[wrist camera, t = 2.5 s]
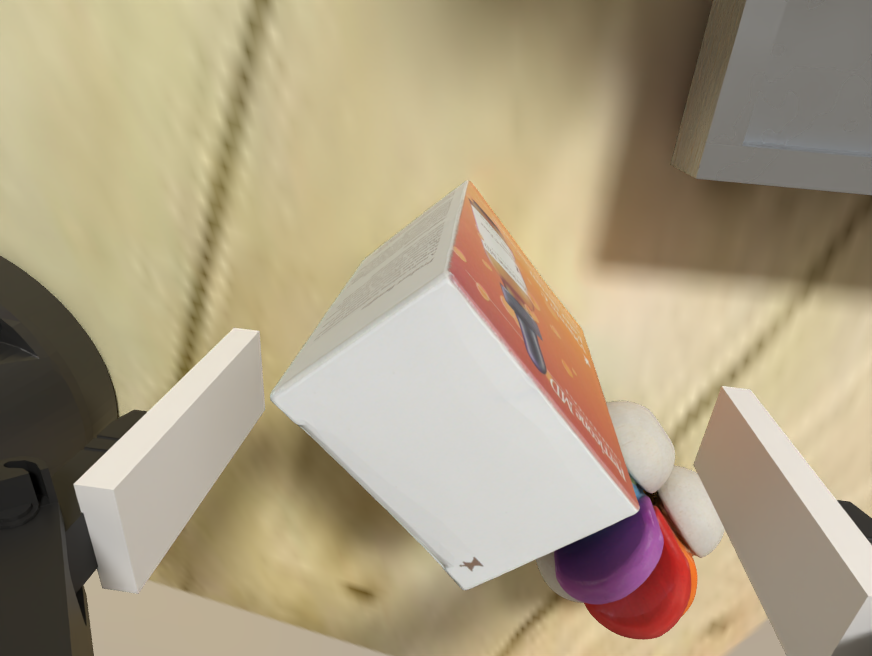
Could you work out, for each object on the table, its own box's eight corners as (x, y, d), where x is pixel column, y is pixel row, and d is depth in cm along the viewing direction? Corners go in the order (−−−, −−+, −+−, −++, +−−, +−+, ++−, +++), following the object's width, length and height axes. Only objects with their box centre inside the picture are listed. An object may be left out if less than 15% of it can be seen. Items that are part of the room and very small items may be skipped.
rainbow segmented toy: (572, 569, 29) (595, 716, 22) (460, 448, 26) (450, 576, 20) (724, 500, 26) (802, 646, 19) (617, 357, 23) (667, 471, 17)
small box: (584, 329, 23) (651, 519, 13) (475, 394, 24) (466, 601, 15) (468, 172, 20) (450, 266, 11) (358, 257, 22) (261, 401, 13)
